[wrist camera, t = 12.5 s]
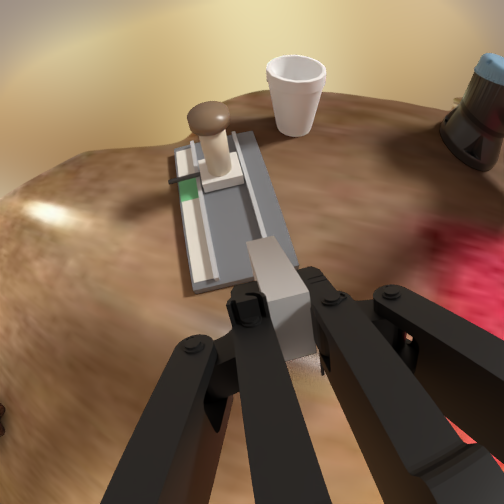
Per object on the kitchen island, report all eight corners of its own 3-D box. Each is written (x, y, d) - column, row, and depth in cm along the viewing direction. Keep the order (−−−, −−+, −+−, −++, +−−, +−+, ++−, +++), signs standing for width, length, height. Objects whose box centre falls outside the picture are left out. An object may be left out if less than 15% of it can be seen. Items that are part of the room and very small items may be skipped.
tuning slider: (237, 159, 46) (227, 97, 35) (244, 184, 44) (235, 120, 33) (170, 176, 46) (145, 118, 35) (172, 201, 44) (145, 143, 32)
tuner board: (252, 136, 51) (252, 125, 48) (298, 269, 40) (299, 261, 38) (176, 154, 50) (172, 144, 48) (195, 294, 39) (190, 287, 37)
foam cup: (270, 109, 54) (268, 53, 42) (317, 112, 53) (323, 57, 41) (266, 141, 50) (264, 81, 38) (319, 145, 49) (328, 85, 38)
